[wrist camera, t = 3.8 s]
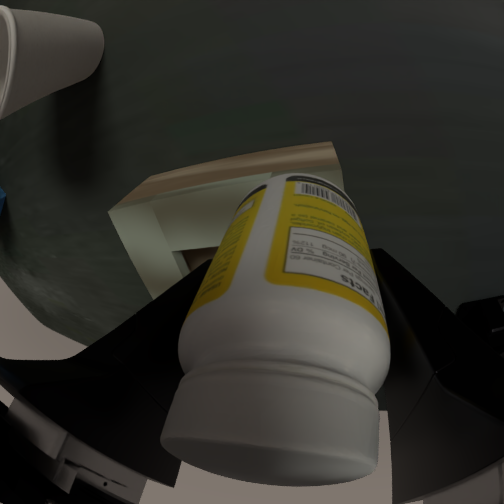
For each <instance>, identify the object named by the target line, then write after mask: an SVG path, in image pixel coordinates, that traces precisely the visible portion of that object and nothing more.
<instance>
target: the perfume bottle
mask: <svg viewBox="0 0 504 504" xmlns="http://www.w3.org/2000/svg"><path fill="white" fill-rule="evenodd" d="M5 197H6V195H5V193H4V192H3V190H2V189H1V187H0V215H1V211H2V207H3V204H4V200H5Z"/></svg>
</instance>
